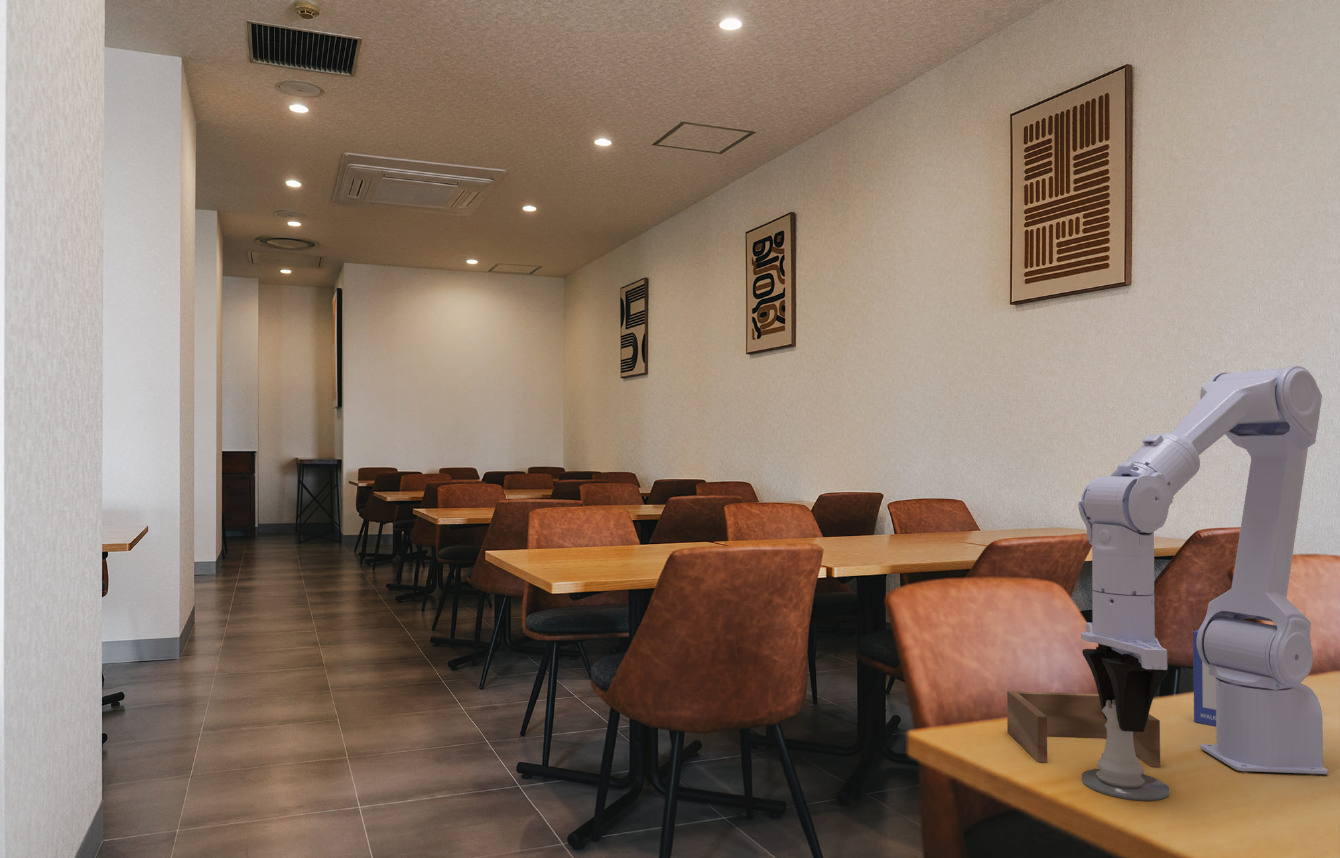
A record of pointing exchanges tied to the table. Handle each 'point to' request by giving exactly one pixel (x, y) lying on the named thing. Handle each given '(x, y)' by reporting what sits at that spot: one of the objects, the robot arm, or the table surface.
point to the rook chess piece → (1118, 755)
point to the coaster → (1146, 792)
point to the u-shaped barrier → (1069, 722)
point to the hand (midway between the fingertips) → (1123, 725)
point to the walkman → (1203, 689)
